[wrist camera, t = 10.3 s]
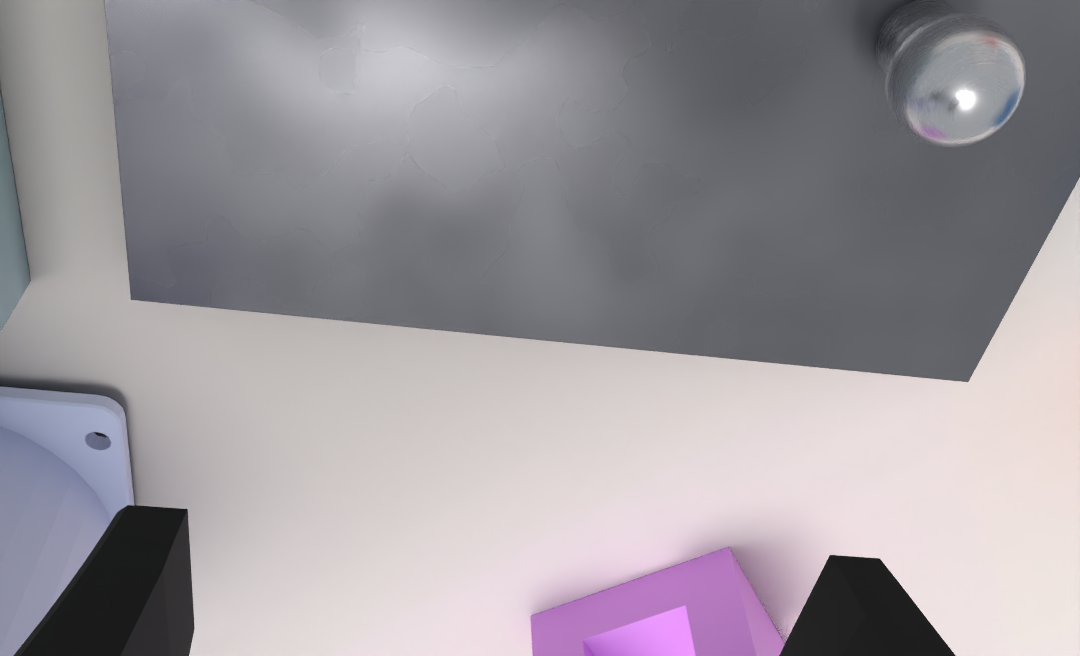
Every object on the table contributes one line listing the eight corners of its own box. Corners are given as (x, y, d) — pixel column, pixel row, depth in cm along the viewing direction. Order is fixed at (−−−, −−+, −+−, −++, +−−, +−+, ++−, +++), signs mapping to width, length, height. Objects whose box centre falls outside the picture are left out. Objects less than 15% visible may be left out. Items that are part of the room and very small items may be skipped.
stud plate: (954, 358, 22) (1019, 470, 20) (141, 275, 20) (90, 390, 17) (1366, -430, 14) (1577, -420, 11) (60, -732, 12) (-63, -813, 9)
